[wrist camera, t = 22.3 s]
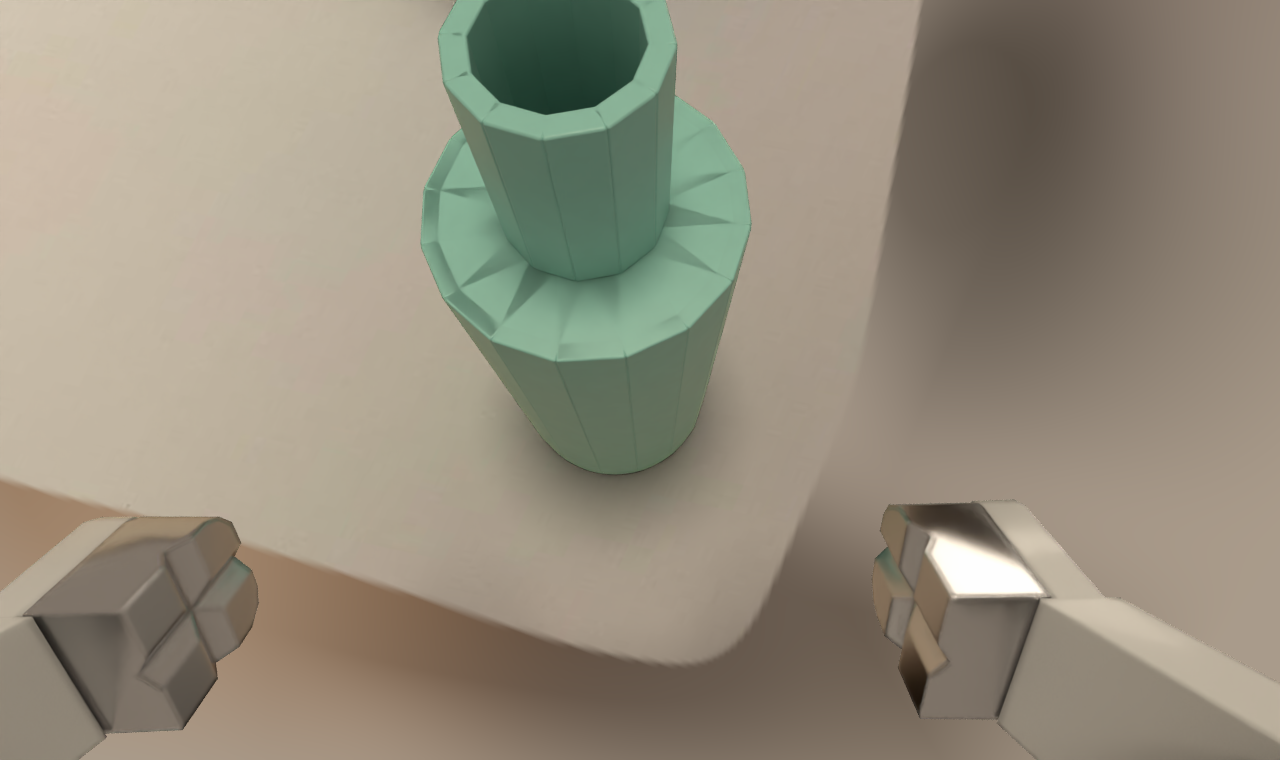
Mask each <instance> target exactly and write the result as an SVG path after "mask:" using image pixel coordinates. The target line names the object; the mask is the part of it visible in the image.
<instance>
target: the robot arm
mask: <svg viewBox="0 0 1280 760" xmlns="http://www.w3.org/2000/svg"><path fill="white" fill-rule="evenodd" d="M880 532H881V534H882V535H883V538H884V540H885V542H886V544H887V546H888V547H887V548H886V549H885V550H884V551H882V552H881V553H880V554H879V555H878V556H877V557H876V558H875V561H874V568H873V575H872V589H873V602H874V606H875V610H876V614H877V618H878V621H879V623H880V626H881V628H882V631H883V633H884V636H885V637H887V638H888V639H889V640H890V641H892V642H893V643H894V644H896V645H897V646H898V647H899V648H901V649H902V651H901V656H900V660H899V665H898V669H899V671H900V673H901V676H902V678H903V680H904V683H905V685H906V687H907V689H908V692H909V694H910V696H911V699H912V701H913V703H914V706H915V708H916V710H917V713H918V715H919V717H920V718H921V719H993V720H994V719H995V720H998V721H997V724H998V725H999V726H1000V727H1001V728H1002V729H1003V730H1005V731H1006V732H1007V733H1008V734H1009V735H1010V736H1011V737H1012V738H1013V739H1014V740H1016V742H1018V743H1019V744H1020V745H1021V746H1022V747H1023V748H1024V749H1025V750H1026V751H1028V753H1029V754H1031V755H1032V756H1033V757H1034V758H1035V759H1036V760H1280V683H1279V682H1277V681H1276V680H1274V679H1272V678H1270V677H1268V676H1266V675H1264V674H1262V673H1261V672H1258V671H1257V670H1255V669H1253V668H1251V667H1249V666H1247V665H1245V664H1244V663H1242V662H1240V661H1238V660H1236V659H1234V658H1232V657H1230V656H1229V655H1227V654H1225V653H1223V652H1221V651H1219V650H1217V649H1215V648H1213V647H1212V646H1210V645H1208V644H1206V643H1204V642H1202V641H1200V640H1199V639H1197V638H1195V637H1193V636H1191V635H1189V634H1187V633H1185V632H1184V631H1182V630H1180V629H1178V628H1176V627H1174V626H1172V625H1170V624H1168V623H1167V622H1164V621H1163V620H1161V619H1159V618H1157V617H1155V616H1153V615H1151V614H1150V613H1148V612H1146V611H1144V610H1142V609H1140V608H1138V607H1137V606H1135V605H1133V604H1131V603H1129V602H1127V601H1125V600H1123V599H1121V598H1105V597H1104V596H1103V594H1102V593H1101V592H1100V591H1099V590H1098V589H1097V588H1096V586H1095V585H1094V584H1093V583H1092V582H1091V581H1090V579H1089V578H1088V577H1087V576H1086V575H1085V574H1084V573H1083V571H1082V570H1081V569H1080V568H1079V567H1078V566H1077V565H1076V563H1075V562H1074V561H1073V560H1072V559H1071V558H1070V557H1069V555H1068V554H1067V553H1066V552H1065V551H1064V550H1063V548H1061V546H1060V545H1059V544H1058V543H1057V542H1056V540H1055V539H1054V538H1053V537H1052V536H1051V535H1050V534H1049V532H1048V531H1047V530H1046V529H1045V528H1044V527H1043V525H1041V523H1040V522H1039V521H1038V520H1037V518H1035V516H1034V515H1033V514H1032V513H1031V512H1030V510H1029V509H1028V508H1027V507H1026V506H1025V505H1024V504H1022V503H1020V502H1018V501H1016V500H992V501H991V500H990V501H972V502H971V503H935V504H896V505H894V504H893V505H888V507H887V509H886V510H885V512H884V514H883V518H882V523H881V528H880ZM240 544H241V541H240V539H239V537H238V535H237V532H236V530H235V528H234V526H233V524H232V522H231V521H228V520H226V519H223V518H220V517H139V518H138V517H101V518H97V519H94V520H90V521H87V522H84V523H83V524H81V525H80V526H79V527H78V528H76V529H75V530H74V531H73V532H72V533H71V534H69V535H68V536H67V537H66V538H64V539H63V540H62V541H61V542H60V543H58V544H57V545H56V546H55V547H54V548H52V549H51V550H50V551H49V552H48V553H46V554H45V555H44V556H43V557H42V558H41V559H39V560H38V561H37V562H36V563H34V564H33V565H32V566H31V567H29V568H28V569H27V570H26V571H25V572H23V573H22V574H21V575H20V576H19V577H17V578H16V579H15V580H14V581H12V582H11V583H10V584H9V585H8V586H7V587H5V588H4V589H3V590H2V591H0V760H79V759H80V758H81V757H82V756H84V755H85V754H86V753H88V752H89V751H90V750H92V749H93V748H94V747H95V746H97V745H98V744H99V743H100V742H102V741H103V740H104V739H105V738H106V737H107V736H106V735H105V734H107V733H128V732H151V731H172V730H173V731H174V730H183V729H184V727H185V726H186V724H187V722H188V721H189V720H190V718H191V717H192V715H193V714H194V713H195V711H196V710H197V708H198V707H199V705H200V704H201V702H202V701H203V699H204V698H205V696H206V695H207V694H208V692H209V691H210V689H211V688H212V686H213V685H214V683H215V682H216V680H217V679H218V677H217V669H216V662H218V661H219V660H220V659H222V658H224V657H225V656H227V655H228V654H230V653H231V652H232V651H234V650H235V649H237V648H238V647H239V646H240V645H241V643H242V642H243V640H244V639H245V637H246V636H247V634H248V632H249V631H250V629H251V628H252V625H253V621H254V618H255V614H256V611H257V607H258V603H259V602H258V586H257V583H256V580H255V577H254V575H253V572H252V570H251V569H250V568H249V567H247V566H246V565H245V564H243V563H242V562H241V561H240V560H238V559H237V558H236V557H234V556H235V554H236V552H237V550H238V548H239V546H240Z"/></svg>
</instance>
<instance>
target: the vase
mask: <svg viewBox="0 0 1280 760" xmlns="http://www.w3.org/2000/svg"><path fill="white" fill-rule="evenodd" d="M438 45H439V53H440V62H441V70H442V79H443V84H444V86H445V89H446V91H447V94H448V96H449V99H450V101H451V103H452V106H453V108H454V111H455V113H456V116H457V118H458V121H459V123H460V125H461V129H460V130H459V131H458V132H457V133H455V134H454V135H453V136H452V137H451V139H450V140H449V141H448V143H447V145H446V147H445V149H444V151H443V153H442V155H441V156H440V158H439V160H438V162H437V164H436V166H435V168H434V170H433V172H432V174H431V176H430V177H429V179H428V181H427V183H426V185H425V188H424V191H423V208H422V226H421V249H422V251H423V253H424V256H425V258H426V260H427V263H428V265H429V267H430V270H431V272H432V274H433V277H434V279H435V281H436V284H437V286H438V288H439V291H440V293H441V296H442V298H443V299H444V301H445V302H446V303H447V305H448V306H449V308H450V309H451V311H452V312H453V313H454V315H455V316H456V318H457V319H458V320H459V322H460V323H461V325H462V326H463V327H464V329H465V330H466V332H467V333H468V334H469V336H470V337H471V339H472V340H473V341H474V343H475V344H476V346H477V347H478V348H479V350H480V351H481V353H482V354H483V356H484V357H485V358H486V360H487V361H488V363H489V364H490V365H491V367H492V368H493V370H494V371H495V372H496V374H497V375H498V377H499V378H500V379H501V381H502V382H503V384H504V385H505V386H506V388H507V389H508V391H509V392H510V393H511V395H512V396H513V398H514V399H515V401H516V402H517V403H518V405H519V406H520V408H521V409H522V410H523V412H524V413H525V415H526V416H527V417H528V419H529V420H530V422H531V423H532V424H533V426H534V427H535V429H536V430H537V431H538V433H539V434H540V436H541V437H542V438H543V440H545V441H546V442H547V443H548V444H549V445H550V446H551V447H552V448H553V449H554V450H555V451H556V452H557V453H558V454H559V455H560V456H562V457H563V458H564V459H566V460H567V461H569V462H571V463H572V464H574V465H576V466H578V467H581V468H583V469H585V470H589V471H592V472H596V473H602V474H627V473H634V472H637V471H641V470H644V469H647V468H649V467H652V466H654V465H656V464H658V463H660V462H661V461H663V460H665V459H666V458H667V457H669V456H670V455H671V454H673V453H674V452H675V451H676V450H677V449H678V448H679V447H680V446H681V445H682V444H683V442H684V441H685V440H686V438H687V437H688V436H689V434H690V433H691V431H692V430H693V428H694V427H695V424H696V421H697V418H698V415H699V412H700V409H701V406H702V403H703V399H704V396H705V393H706V389H707V385H708V382H709V378H710V375H711V371H712V367H713V364H714V360H715V357H716V353H717V349H718V346H719V342H720V339H721V335H722V332H723V328H724V324H725V321H726V317H727V314H728V310H729V306H730V303H731V299H732V296H733V292H734V288H735V285H736V281H737V278H738V274H739V270H740V267H741V263H742V260H743V256H744V252H745V249H746V245H747V242H748V238H749V234H750V231H751V224H752V223H751V215H750V208H749V200H748V192H747V185H746V177H745V172H744V169H743V167H742V165H741V164H740V162H739V161H738V159H737V157H736V156H735V154H734V153H733V151H732V150H731V148H730V146H729V145H728V143H727V142H726V140H725V139H724V137H723V135H722V134H721V132H720V131H719V129H718V128H717V126H716V124H714V123H713V121H711V120H710V119H709V118H707V117H706V116H704V115H703V114H701V113H700V112H699V111H697V110H696V109H694V108H693V107H691V106H690V105H689V104H687V103H686V102H684V101H683V100H681V99H680V98H679V97H677V96H676V95H675V81H676V61H677V41H676V37H675V33H674V30H673V26H672V22H671V19H670V15H669V11H668V7H667V4H666V1H665V0H457V1H456V3H455V4H454V6H453V8H452V10H451V11H450V13H449V15H448V17H447V19H446V20H445V22H444V24H443V26H442V27H441V29H440V31H439V35H438Z"/></svg>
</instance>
